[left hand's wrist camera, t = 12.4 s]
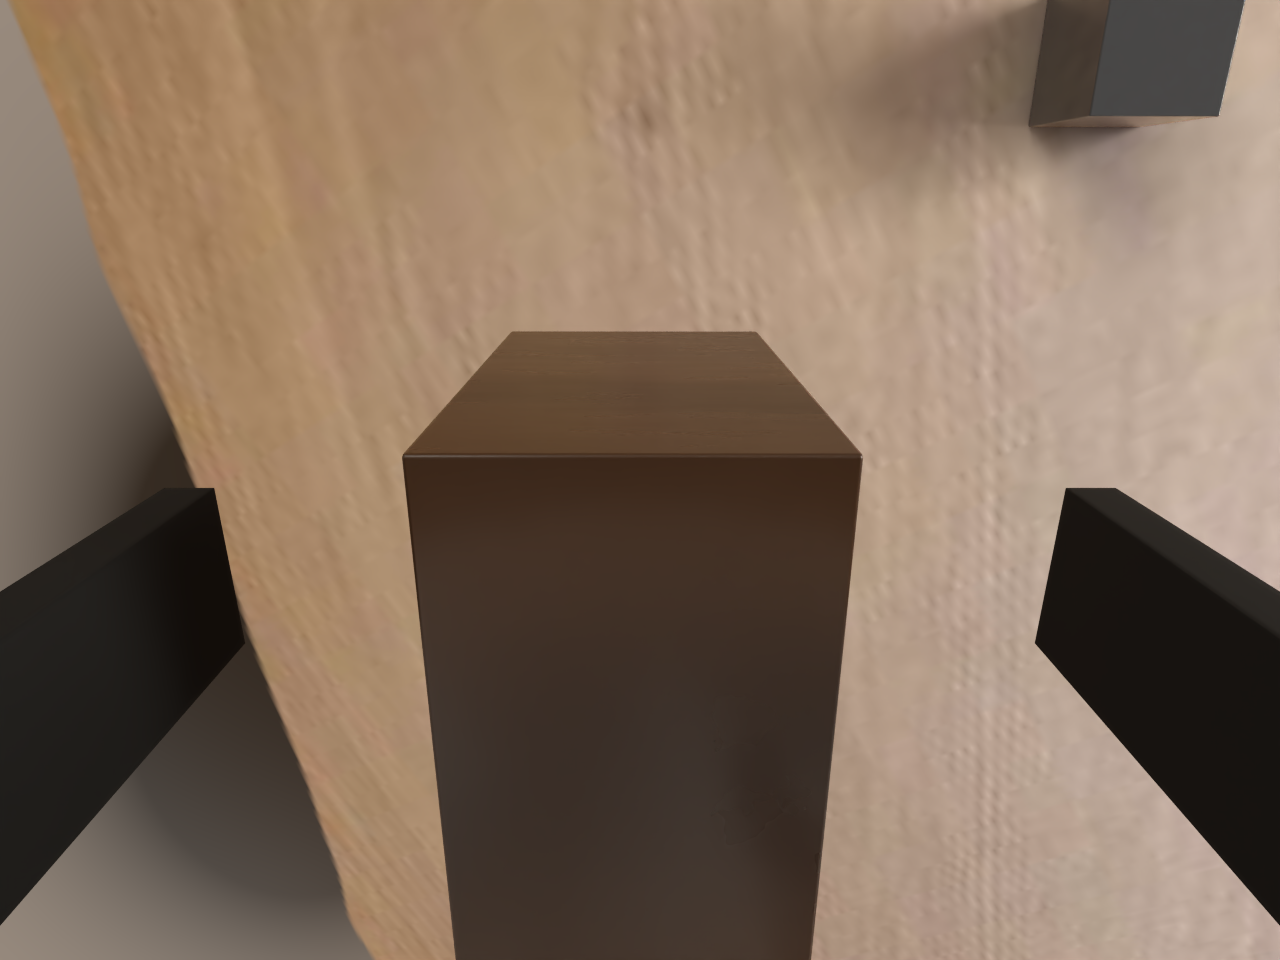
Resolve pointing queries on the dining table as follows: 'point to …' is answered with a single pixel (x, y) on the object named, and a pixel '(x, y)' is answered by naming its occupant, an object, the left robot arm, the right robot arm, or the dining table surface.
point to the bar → (632, 644)
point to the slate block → (1133, 61)
